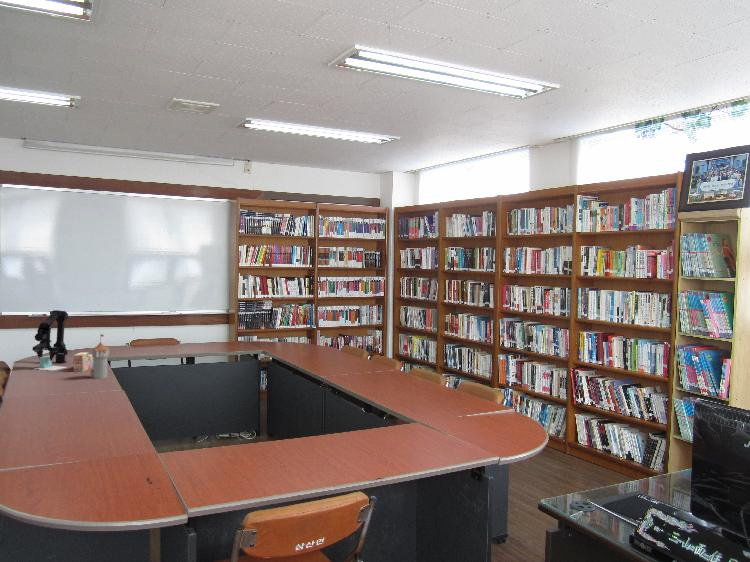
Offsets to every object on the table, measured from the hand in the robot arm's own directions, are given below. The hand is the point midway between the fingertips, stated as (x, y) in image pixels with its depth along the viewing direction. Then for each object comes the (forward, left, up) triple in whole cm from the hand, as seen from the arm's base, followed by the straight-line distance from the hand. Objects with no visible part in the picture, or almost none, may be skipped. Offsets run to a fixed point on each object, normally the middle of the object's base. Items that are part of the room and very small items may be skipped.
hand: (45, 360), depth 438 cm
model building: (+14, +58, -6) cm, 60 cm away
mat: (0, +4, -6) cm, 7 cm away
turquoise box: (0, 0, -5) cm, 5 cm away
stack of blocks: (-7, +27, -6) cm, 29 cm away
